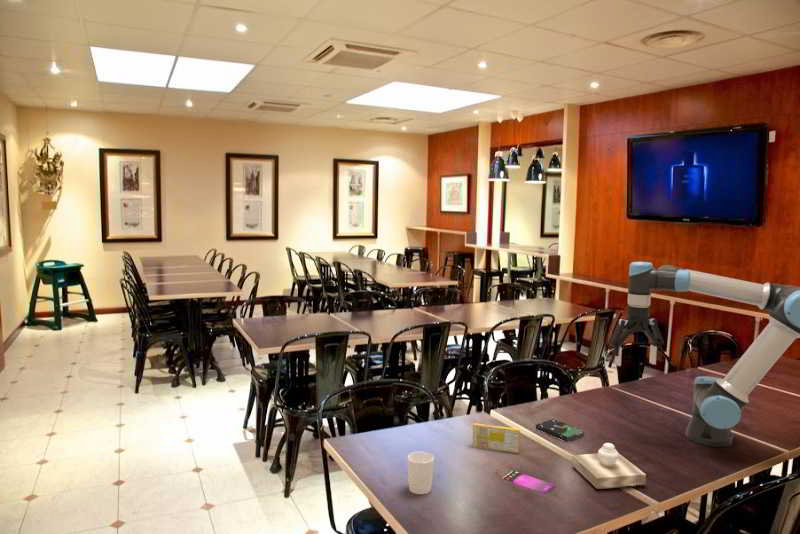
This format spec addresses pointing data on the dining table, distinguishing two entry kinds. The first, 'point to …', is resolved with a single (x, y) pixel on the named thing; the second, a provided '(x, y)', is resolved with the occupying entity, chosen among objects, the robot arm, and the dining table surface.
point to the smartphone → (528, 482)
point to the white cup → (420, 472)
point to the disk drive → (560, 430)
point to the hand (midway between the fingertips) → (635, 364)
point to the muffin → (608, 454)
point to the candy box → (496, 438)
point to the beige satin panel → (608, 472)
